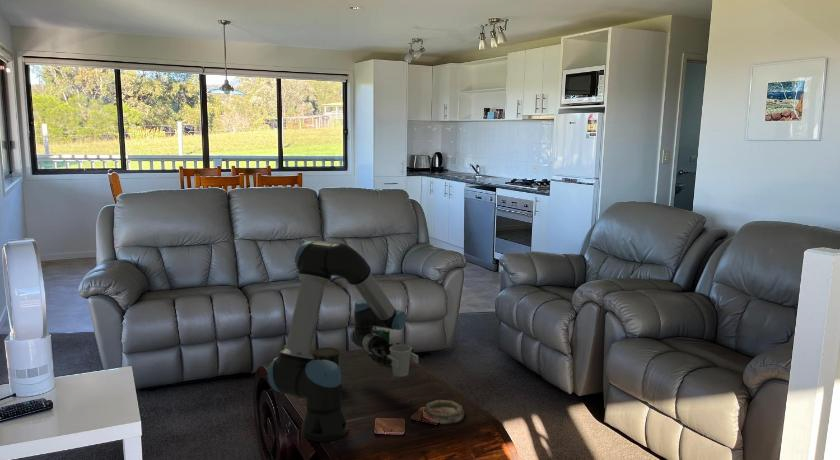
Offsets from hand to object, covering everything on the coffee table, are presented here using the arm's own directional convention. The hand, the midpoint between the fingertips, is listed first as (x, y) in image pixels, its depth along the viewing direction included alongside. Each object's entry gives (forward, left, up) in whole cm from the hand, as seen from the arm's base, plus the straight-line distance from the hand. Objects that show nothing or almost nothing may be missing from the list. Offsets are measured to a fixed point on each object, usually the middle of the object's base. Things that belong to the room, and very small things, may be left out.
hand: (407, 361), depth 218 cm
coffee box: (+19, +51, -18) cm, 57 cm away
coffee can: (-15, +36, -18) cm, 43 cm away
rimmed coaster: (+8, -11, -18) cm, 23 cm away
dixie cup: (0, +5, -6) cm, 8 cm away
